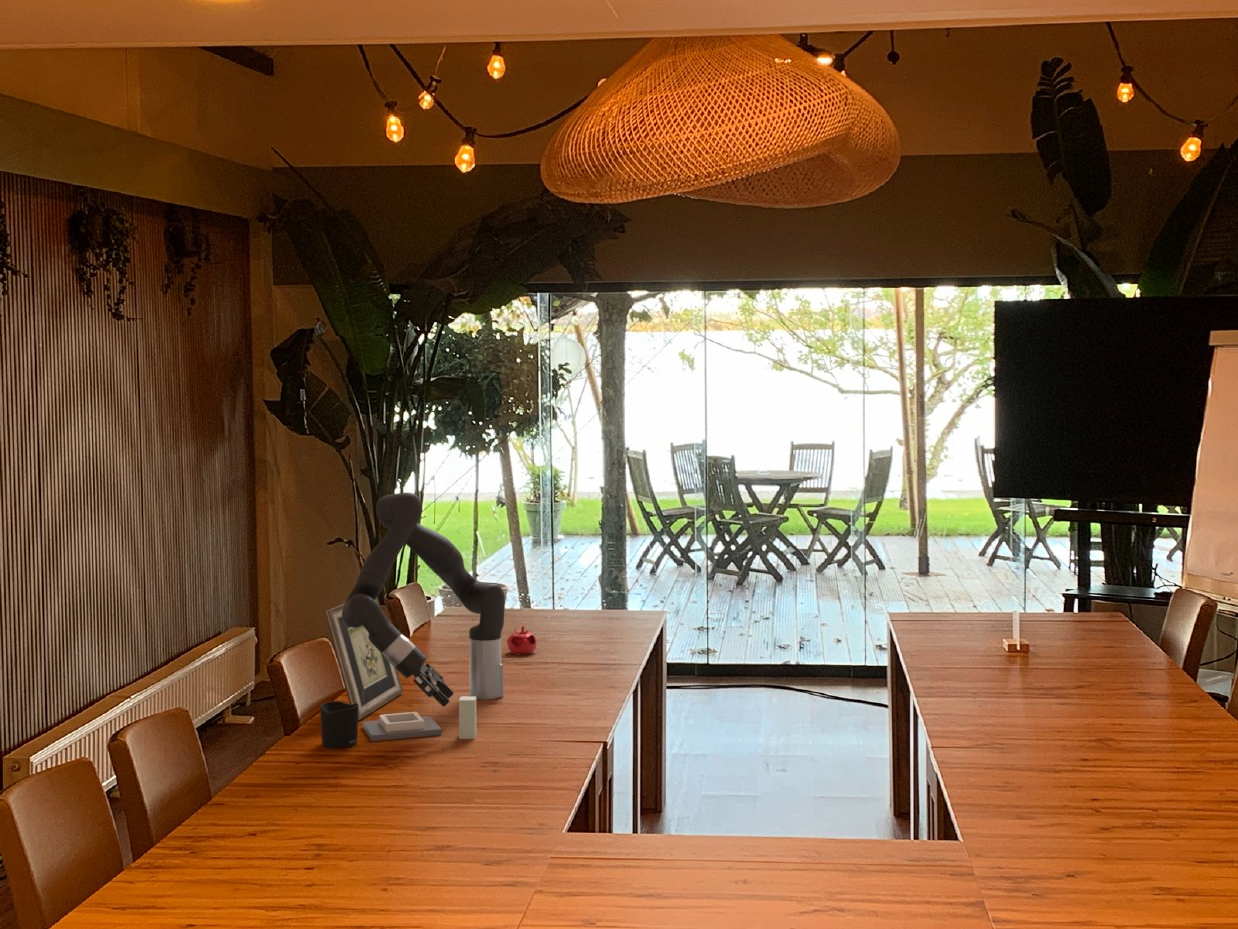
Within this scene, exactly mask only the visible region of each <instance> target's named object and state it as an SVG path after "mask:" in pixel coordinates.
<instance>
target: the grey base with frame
mask: <svg viewBox="0 0 1238 929" xmlns="http://www.w3.org/2000/svg"><path fill="white" fill-rule="evenodd" d="M378 716H379V717H378V718H379V720H370V721H362V729H363V730H364V731H365V733H366V735H367V737H368V738H369V739H370V741H371V742H377V741H388V740H399V739H410V738H421V737H431V736H442V731H443V730H442V728H441V727H440V726H439V725H438V723H437V722H436V721H435V720H434V718H433V717H431V715H426V716H425V715H424V716H421V715H420V714H419V712H418V711H411V712H410V711H409V712H397V713H387V714H379V715H378Z"/></svg>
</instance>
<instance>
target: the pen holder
mask: <svg viewBox="0 0 1238 929" xmlns="http://www.w3.org/2000/svg"><path fill="white" fill-rule="evenodd" d="M319 712H320V714H319V715H320V731H321V732H320V733H321V744H322V746H323V747H325V748H327V749H332V750H333V749H334V750H337V749H338V750H339V749H348V748H351V747H354V746H356V745H357V743H358V732H359V731H358V729H359V721H358V703H355V704H352V705H350V703H346V702H345V701H341V700H340V701H339V700H334V701H333V700H332V701H328V702H324V703H322V704H320V705H319Z"/></svg>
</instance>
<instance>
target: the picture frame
mask: <svg viewBox="0 0 1238 929" xmlns="http://www.w3.org/2000/svg"><path fill="white" fill-rule="evenodd" d="M375 601H376V603H377V604H378V605H379V606H380V607H381V605H380V601H379V598H378V596H377V597H376V599H375ZM344 605H345V603H342V604H341V605H340V604H339V605H338V606H336V607H333V608H330V609H328V610H325V611H324V614H325V619H326V622H327V625H328V629H329V632H330V633H329V634H330V637H331V640H332V644H333V647H334V651H335V654H336V655H335V656H336V658H337V662H338V665H339V670H340V673H341V677H342V680H343V684H344V688H345V691H346V696H347V700H348V704H350V705H352V704H355V703H358V722H359V721H361V720H363V718H365V717H366V716H369V715H370V714H372V713H373V712H374V711H376V710H377V709H380V708H381V707H383V706H384V705H386V704H387V703H389V702H390V701H392V700H394V699H395V698H397V697H398V696H400V695H402V694H403V693H404V690H403V686H402V682H401V678H400V674H399V671H398V670H397V669H396V668H395V667H394V666H393V665H392V664H391V663H390V662H389V661H388V660H387V659H386V658H385V656H384V655H383V654H382V653H381V652H380V651H379V650H378V649H377V648H376V647H375V646H374V645H373V644H372V643H371V642H370V640H369V638H368V636H369V633H368V631H367V630H366V629H365V627H364V626H363V625H362V626H360V627H357V628H353V627H350V626H348V625H347V624H345V622H344V621H343V618H342V610H343V607H344Z"/></svg>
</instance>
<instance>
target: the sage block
mask: <svg viewBox="0 0 1238 929" xmlns="http://www.w3.org/2000/svg"><path fill="white" fill-rule="evenodd" d="M458 719H459V720H458V723H459V724H458V726H459V727H458V730H459V732H458V734H459V735H458V737H459V738H458V739H460V740H474V739H476V736H477V699H476V696H468V695H466V696H460V697H459V699H458Z"/></svg>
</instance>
